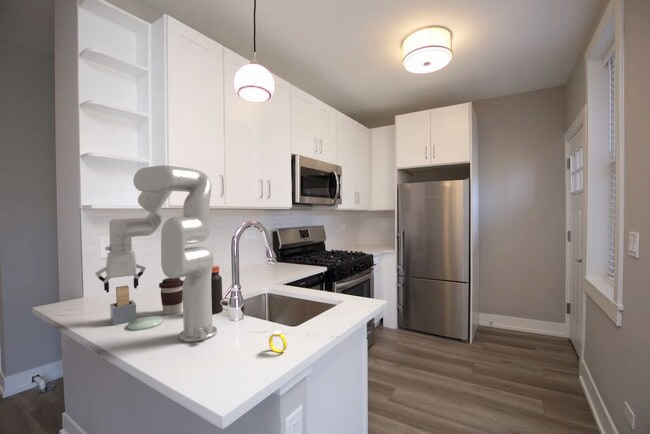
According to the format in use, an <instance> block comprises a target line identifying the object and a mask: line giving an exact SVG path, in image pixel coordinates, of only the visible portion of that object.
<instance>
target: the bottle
mask: <svg viewBox="0 0 650 434" xmlns="http://www.w3.org/2000/svg"><path fill="white" fill-rule="evenodd" d="M219 273H220V266H219V265H213V268H212V275H211V298H212V315H216V314H221V313H222V312H223V308H224V307H223V306H222V305H221V304H220V301H221V300H223V281H222V280H223V278H222V276H221V275H220V274H219Z"/></svg>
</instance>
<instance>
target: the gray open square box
mask: <svg viewBox="0 0 650 434" xmlns="http://www.w3.org/2000/svg"><path fill="white" fill-rule="evenodd" d="M109 307H110V309H109V311H110V323H111V324H112V326H118V325H122V324H129V323H130V322H132V321H134V320H137V303H136V302H135V301H134V300H133V299H131V300H130V299H129V305H124V306H118V307H117V302H114V303H110V304H109Z"/></svg>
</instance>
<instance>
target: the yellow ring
mask: <svg viewBox="0 0 650 434" xmlns="http://www.w3.org/2000/svg"><path fill="white" fill-rule="evenodd" d="M274 337H276V338H277V337H279V338H280V339H281V341H282V343H283V347H282V349H278V348H276V347H275V346H274V342H273V338H274ZM287 342H288V341H287V339H286V337H285V336H284V334H283V333H282V331H280V330H277V331H274V332H273V333H272V334H271V335H270V336H269V339H268V344H269V348H270V350H271V351H272V352H274V353H279V354H282V353H283V352H284V351H286V349H287V348H288V347H287V346H288V343H287Z"/></svg>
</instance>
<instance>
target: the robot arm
mask: <svg viewBox="0 0 650 434" xmlns="http://www.w3.org/2000/svg"><path fill="white" fill-rule="evenodd" d="M133 185H134V187H135V189H136V190H137V191H140V192H141V193H140V194H139V195H138V197H137V202H138V204H139V206H140V207H141V208H142V209H144V210H146V211H148V212H149V214H148V215H147V216H146V217H140V218H139V217H135V218H133V217H132V218H114V219H111V220H109V222H108V223H109V225H108V226H109V228H108V229H109V245H108V246H105V248H104V249H105V251H109V252H108V253H107V255H106V264H105V265H106V266H105V267H103V268H101V269H99V270H97V271H95V276H96V277H97V279H98V280H100V281H101V282H102V283H103V290H104V291H105V292H106V293H107V294H108V293H109V292H110V283H109V280H111V279H113V278H123V277H130V276H132V277H134V278H133V288H134V289H138V286H139V279H140V277H141V276H142V275H143V274H144V272H145V270H146V267H145V266H142V265H140V264H137V259H136V254H135V251H133V250H132V248H133V247H132V244H133V243H132V238H134V237H147V236H151V235H153V233H155V232H156V231H157V229H158V228H159V227H160V226H161V224H162V222H163V210H162V207H163V205H164V204H165V202H166V201H167V200H168V199H169V197H170V195H171V194H172V193H173V192H188V194H187V195H186V197H185V200H184V203H183V207H182V208H183V213H182V216H172V217H170V218H168V219H167V220H165V222H164V223H163V225H162V228H161V235H160V261H161V262H160V263H161V264H160V265H161V270H162V272H163V274H164V275H165V277H167V278H180V279H181V278H184V279H183V281H184V283H183V288H182V291H183V293H182V294H183V300H182V316H183V317H182V319H183V330H182V331H181V332H179V334H178V339H179V340H180V341H183V342H187V343H188V342H189V343H191V342H192V343H193V342H200V341H204V340H207V339H211V338H212V337H214V336H215V335H217V333H218V328H217V327H216V326H215V325H213V314H212V298H211V275H212V268H213V266H214V254H213V252H212V251H211V249H209V248H208V247H206V246H204V245H203V246H202V245H199V246H190V247H189V246H188V247H186V245H190V244H197V243H203V242H205V241H206V240H207V239H208V238H209V234H210V201H211V196H212V183H211V180H210V178H209V176H208V175H207V174H206V173H204V172H203V171H202V170H199V169H194V168H191V167H190V168H189V167H182V166H181V167H180V166H173V165H165V164H163V165H162V164H161V165H154V166H147V167H146V166H145V167H142V168H140V169H138V170H137V171H136V172H135V174H134V175H133ZM137 269H139V272H138V273H137ZM104 272H105V273H106V276H105V277H103V276H102V274H103V273H104Z"/></svg>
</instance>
